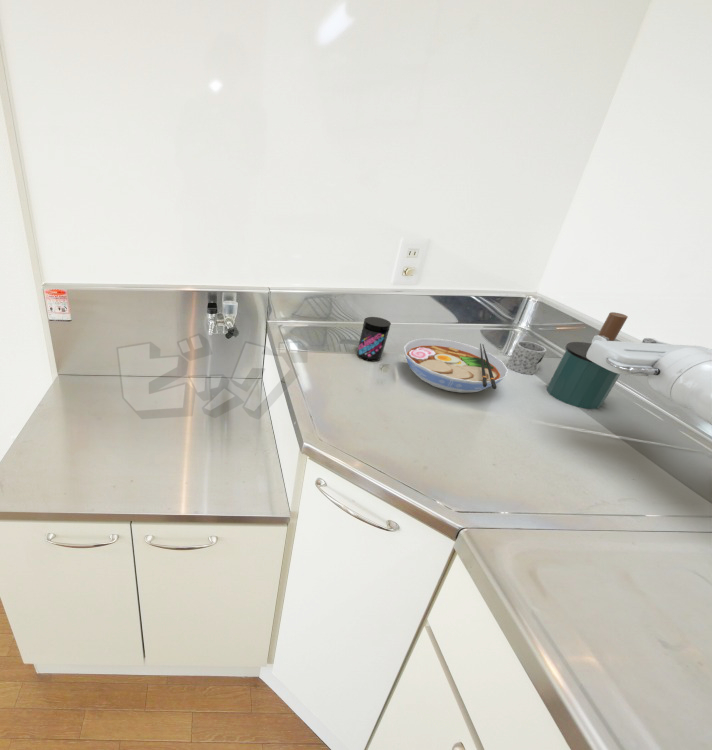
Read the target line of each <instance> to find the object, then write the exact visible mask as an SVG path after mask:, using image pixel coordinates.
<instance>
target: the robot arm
mask: <svg viewBox="0 0 712 750" xmlns="http://www.w3.org/2000/svg"><path fill="white" fill-rule="evenodd" d="M608 340H609V338H607V337H605V336H600V335H598V334H595V335H594V336H593V338H592V339H591V346H590V347H589V349H588V351H587V354H586V357H587V359H589V360H590V361H592V362H594V363H596V364H598V365H599V366H601V367H603V368H605V369H607V370H609V371H612V372H614V373H618V374H620V375H622V376H635V377H636V376H637V377H647V384H648V386H649V387H650V388H651V389H652V390H653V391H655V392H656V393H658V394H660V395H662V396H663V397H665V398H667V399H668V400H670V401H671V402H673V403H674V404H676V405H678V406H680V407H683V408H686V409H689V410H691V411H692V412H693V413H694V414H695V415H696V416H697V417H698V418H700V419H701V420H702V421H704V422H706V423H707V424H709V425H710V426H712V348H709V347H705V346H700V345H688V344H687V345H686V344H672V343H667V342H664V341H659V340H657V339H656V338H649V337H644V338H643V339H642V341H641V342H637V341H636V342H634V341H620V340H619V341H618V340H615V341H608Z"/></svg>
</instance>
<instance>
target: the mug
mask: <svg viewBox="0 0 712 750" xmlns="http://www.w3.org/2000/svg"><path fill="white" fill-rule="evenodd" d="M546 352H547V348H546V347H545V346H543V345H541V344H539V343H537V342H532V341H527V340H519V341H516V344H515V346H514V348H513V350H512V353H511V355H510V357H509V359H508V362H507V363H506V367H507V368H509V369H510V370H511V371H514V372H516V373H519V374H522V375H535V374H536V373H537V371H538V369H539V367H540V364H541V363H542V361H543V359H544V356H545V354H546Z"/></svg>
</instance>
